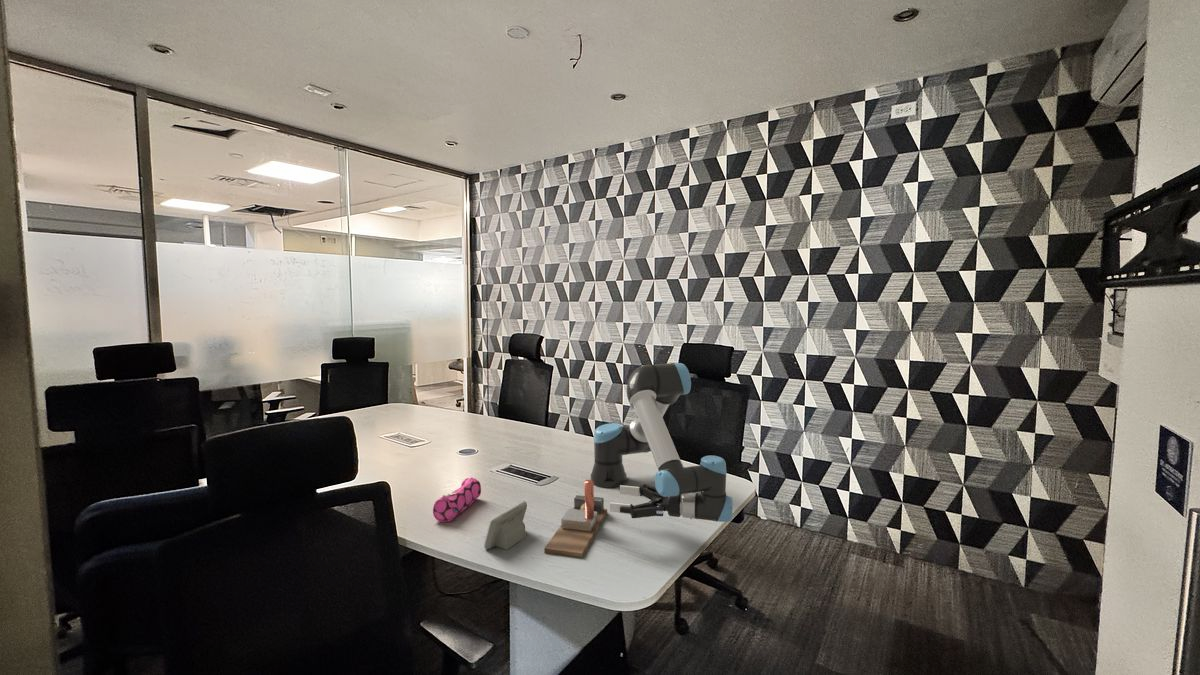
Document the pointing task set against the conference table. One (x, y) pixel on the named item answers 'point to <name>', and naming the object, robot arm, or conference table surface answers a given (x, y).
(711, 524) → the conference table surface
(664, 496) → the robot arm
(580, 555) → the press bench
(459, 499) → the pencil case
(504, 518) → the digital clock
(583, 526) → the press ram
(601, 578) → the conference table surface
